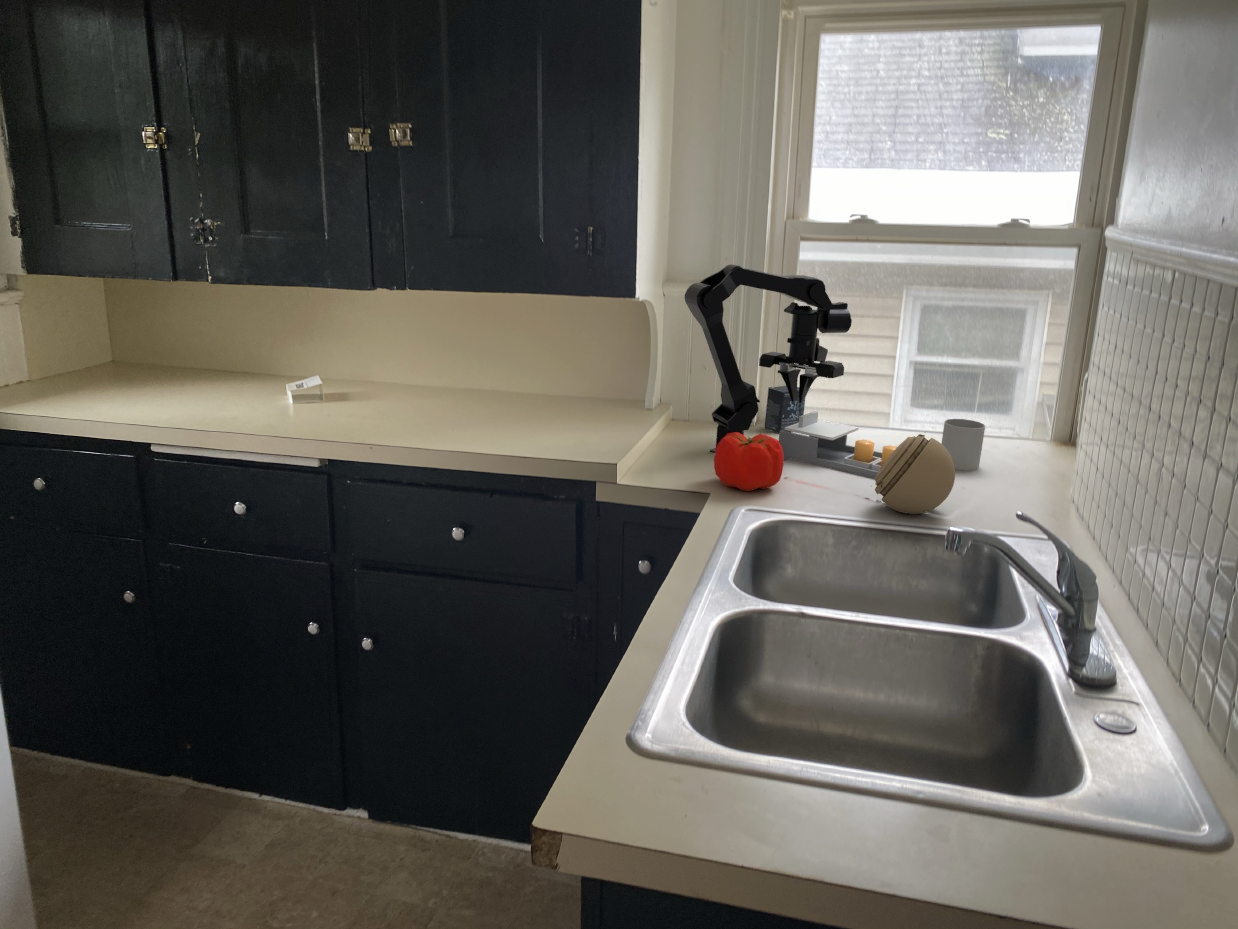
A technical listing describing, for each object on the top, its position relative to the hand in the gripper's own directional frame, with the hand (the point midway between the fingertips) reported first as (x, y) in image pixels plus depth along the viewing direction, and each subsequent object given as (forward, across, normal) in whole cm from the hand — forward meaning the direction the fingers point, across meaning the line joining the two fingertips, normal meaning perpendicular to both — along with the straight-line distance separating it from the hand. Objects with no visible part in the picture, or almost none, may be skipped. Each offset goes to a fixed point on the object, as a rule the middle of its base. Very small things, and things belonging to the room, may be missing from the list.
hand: (797, 402), depth 218 cm
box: (+11, +10, -14) cm, 21 cm away
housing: (+11, -14, +2) cm, 18 cm away
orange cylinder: (+10, -24, +2) cm, 27 cm away
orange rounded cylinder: (+10, -18, +2) cm, 21 cm away
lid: (+5, -8, +2) cm, 9 cm away
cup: (+11, -34, -14) cm, 38 cm away
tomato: (+11, -8, +32) cm, 35 cm away
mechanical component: (+11, -38, +23) cm, 45 cm away
